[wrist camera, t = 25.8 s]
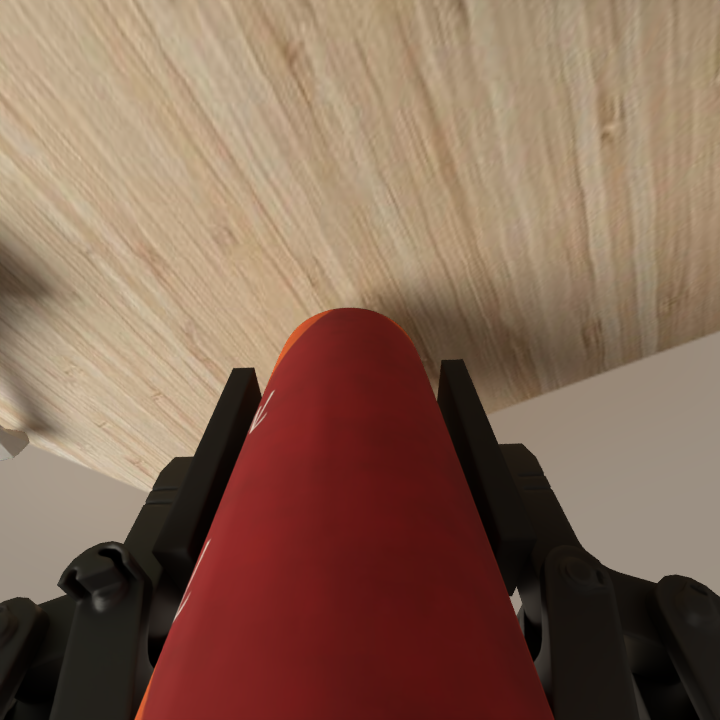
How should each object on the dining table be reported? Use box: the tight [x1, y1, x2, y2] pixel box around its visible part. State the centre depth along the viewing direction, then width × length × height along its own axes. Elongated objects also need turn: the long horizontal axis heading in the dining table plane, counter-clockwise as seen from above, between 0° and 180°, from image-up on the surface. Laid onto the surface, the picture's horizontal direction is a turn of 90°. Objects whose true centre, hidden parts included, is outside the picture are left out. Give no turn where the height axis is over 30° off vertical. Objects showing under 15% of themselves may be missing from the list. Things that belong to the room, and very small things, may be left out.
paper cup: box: [135, 308, 554, 720], centre depth 9 cm, size 8×8×14 cm
